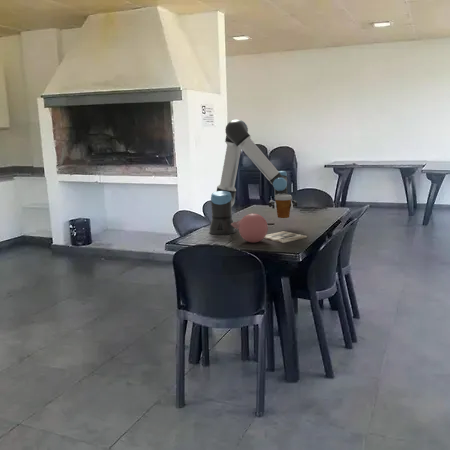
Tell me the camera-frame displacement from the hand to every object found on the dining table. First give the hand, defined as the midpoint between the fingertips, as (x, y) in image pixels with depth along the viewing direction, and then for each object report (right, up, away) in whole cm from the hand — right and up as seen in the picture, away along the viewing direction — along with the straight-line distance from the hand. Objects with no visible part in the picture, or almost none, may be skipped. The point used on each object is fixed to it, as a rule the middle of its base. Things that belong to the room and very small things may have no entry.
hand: (283, 206), depth 279 cm
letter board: (+1, -17, +8) cm, 18 cm away
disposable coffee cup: (0, -6, +6) cm, 8 cm away
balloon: (-18, -19, +1) cm, 26 cm away
